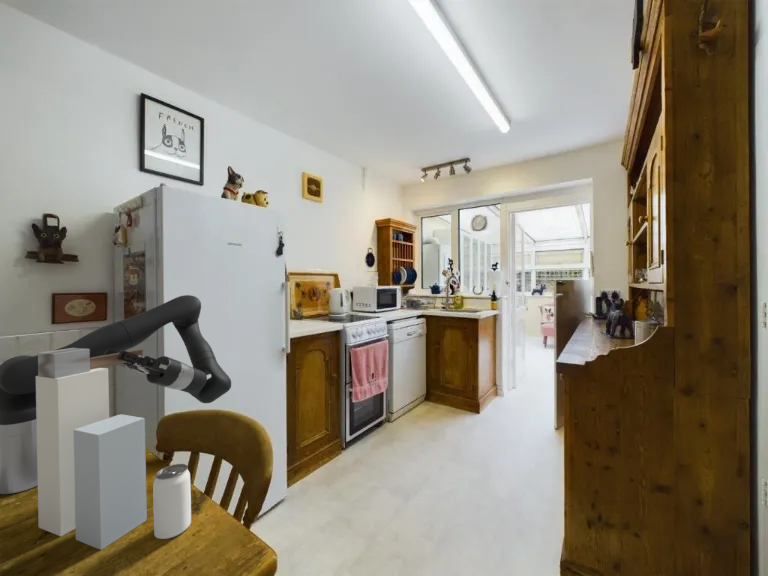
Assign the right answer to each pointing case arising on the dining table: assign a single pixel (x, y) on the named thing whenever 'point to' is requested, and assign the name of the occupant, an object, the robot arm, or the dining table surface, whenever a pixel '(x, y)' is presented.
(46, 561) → the dining table surface
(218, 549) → the dining table surface
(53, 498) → the tall pedestal
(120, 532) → the short pedestal
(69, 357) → the mallet
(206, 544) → the dining table surface
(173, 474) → the can
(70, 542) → the dining table surface
